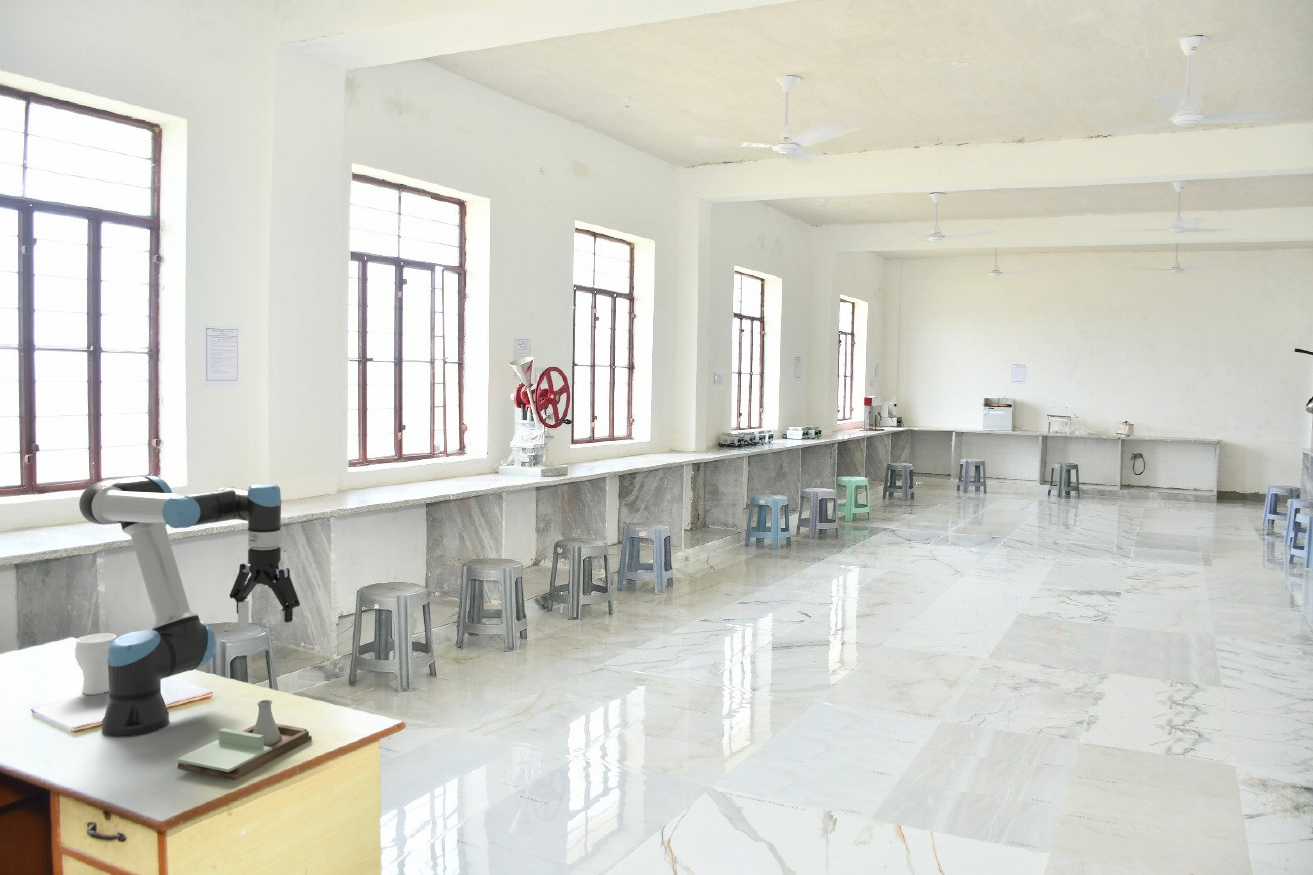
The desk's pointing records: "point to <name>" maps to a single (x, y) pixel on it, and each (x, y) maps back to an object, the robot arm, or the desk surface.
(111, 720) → the robot arm
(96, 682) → the cup
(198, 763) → the cover
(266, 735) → the flask
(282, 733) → the tray
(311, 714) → the desk surface
